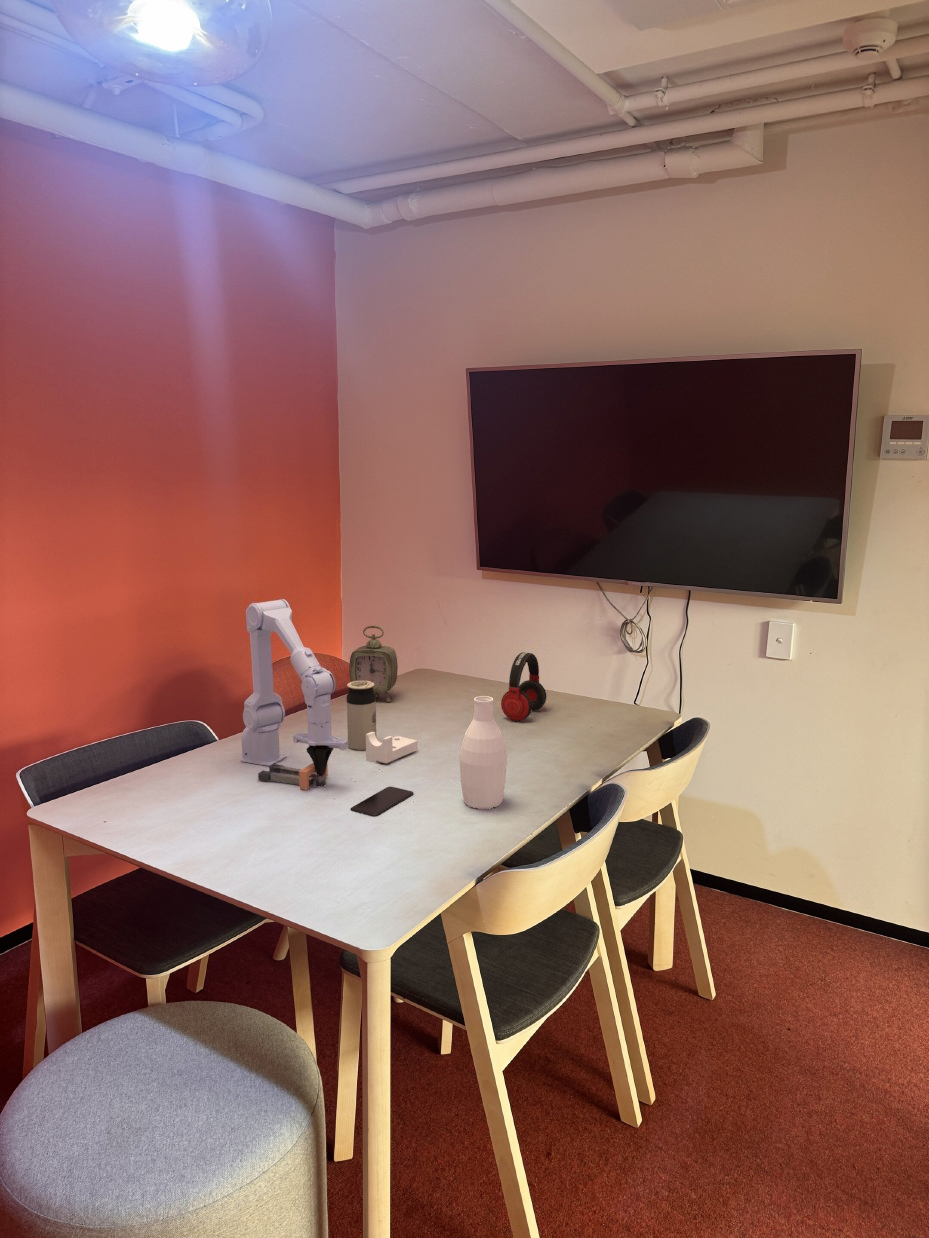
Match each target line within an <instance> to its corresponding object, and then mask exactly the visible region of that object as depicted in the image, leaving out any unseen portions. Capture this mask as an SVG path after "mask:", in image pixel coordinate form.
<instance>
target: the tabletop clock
mask: <svg viewBox="0 0 929 1238" xmlns="http://www.w3.org/2000/svg"><path fill="white" fill-rule="evenodd" d="M368 629H377V630H378V629H379V630H380V631H381V632H382V634H380V635H377V636H376V634H374V633H373V634H371V636H370V635H367V634H366V630H368ZM384 632H385V631H384V629H383V628H381V627H380V626H376V625H368V626H366V627H365V628H364V629H363V630H362V634H363V636H365V637H366V638H368V639H369V640H367V642H366V644H365V645H362V646H359V647H357V648H356V649H354V650H353V651H352V652H351V654H350V657H349V666H348V667H349V681H350V682H353V681H370V682H373V683H374V687H373V691H374V693H375V695H376V699H377V698H378V697H380V695H379V694H383V693H384V695H385V697H386V699H385V701H386V703H390V702H392V699H391V697H390V696H389V695H388V692H390V691H391V690H392V688H394V687H395V685H396V683H397V679H398V667H399V666H398V665H399V664H398V656H397V653H396V650H395V648H393V647H390V646H386V645H383V644H382V642H381V641H380V640H379V639H381V638H383V636H384V634H385V633H384ZM350 682H349V683H350Z"/></svg>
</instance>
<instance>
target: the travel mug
mask: <svg viewBox="0 0 929 1238" xmlns="http://www.w3.org/2000/svg"><path fill="white" fill-rule="evenodd" d="M346 685H347V687H348V693H347V694H346V715H347V716H346V719H347V723H346V724H347V741H348V748H350V749H351V750H355V751H366V734H368V733H370V732H375V736H376V737H377V708H376V707H377V706H376V705H377V704H376V703H377V702H376V699H377V698H376V695H375V693H374V691H373V687H374V683H373V682H370V681H353V682H348V683H347V684H346Z"/></svg>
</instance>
